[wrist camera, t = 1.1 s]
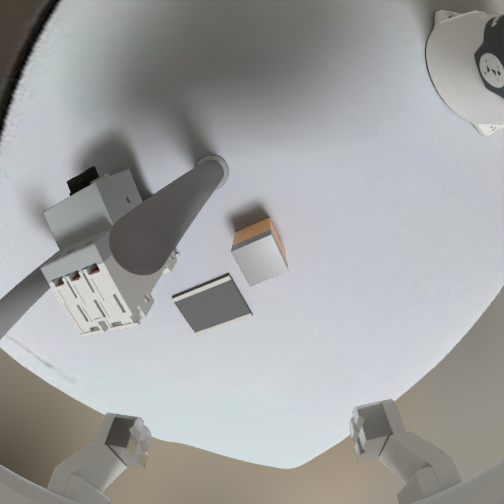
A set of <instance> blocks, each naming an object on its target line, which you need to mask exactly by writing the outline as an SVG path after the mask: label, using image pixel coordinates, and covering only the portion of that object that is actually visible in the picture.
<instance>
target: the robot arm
mask: <svg viewBox="0 0 504 504" xmlns="http://www.w3.org/2000/svg"><path fill="white" fill-rule="evenodd" d="M426 58H427V65H428V69H429V73H430V76H431V79H432V81H433V84H434V86H435V88H436V90H437V91H438V93H439V95H440V96H441V98H442V99H443V101H444V102H445V103H446V104H447V105H448V107H449V108H450V109H451V110H452V111H454V112H455V113H456V114H457V115H459V116H460V117H462V118H464V119H466V120H468V121H469V122H471V123H472V124H473V125H474V126H475V128H476V129H477V130H478V131H479V133H480V134H482V135H483V136H490V135H491V134H493V133H494V132H495V131H496V130H498V129H499V128H500V127H504V14H501V15H498V14H496V13H488V14H487V13H486V12H485V11H471V12H467V13H464V14H461V13H456V12H452V11H446V10H439V11H436V13H435V26H434V29H433V31H432V33H431V34H430V36H429V39H428V42H427V47H426ZM352 413H353V417H352V418H351V420H350V434H351V438H352V440H353V441H354V442H356V445H355V448H354V450H355V454H356V458H357V462H361V461H366V460H370V459H375V458H378V459H379V460H380V461H381V462H383V463H384V464H385V465H386V466H387V467H388V468H389V469H391V470H392V471H393V472H394V473H395V474H396V475H398V476H399V477H400V478H401V479H402V480H403V481H404V482H406V483H407V484H406V485H405V486H404V487H403V488H402V489H401V491H400V492H399V493H398V495H397V497H398V501H399V504H504V458H502V459H501V460H499V461H497V462H496V463H494V464H493V465H491V466H489V467H488V468H486V469H484V470H482V471H481V472H479V473H477V474H475V475H474V476H472V477H470V478H468V479H466V480H464V481H462V480H461V478H460V475H459V473H458V470H457V468H456V465H455V463H454V461H453V458H452V456H451V455H449V454H447V453H446V452H444V451H442V450H441V449H439V448H438V447H436V446H434V445H433V444H431V443H430V442H428V441H426V440H425V439H423V438H422V437H420V436H419V435H417V434H415V433H414V432H412V431H411V430H407V431H406V429H405V426H404V424H403V421H402V419H401V417H400V414H399V412H398V410H397V407H396V405H395V402H394V401H393V400H392V399H387V400H383V401H380V402H374V403H370V404H366V405H361V406H357V407H354V408H353V412H352ZM143 424H144V421H143V419H142V418H141V417H135V416H127V415H120V414H114V413H107V414H106V415H105V416H104V418H103V420H102V423H101V425H100V428H99V430H98V433H97V435H96V437H95V440H94V442H89V443H88V444H87V445H85V446H84V447H83V448H81V449H80V450H79V451H77V452H76V453H74V454H73V455H72V456H70V457H69V458H67V459H66V460H65V461H63V462H62V463H60V464H59V465H58V466H56V467H55V470H54V472H53V475H52V477H51V480H50V482H49V485H48V487H47V489H45V488H43V487H41V486H39V485H36V484H34V483H32V482H30V481H29V480H26V479H25V478H23V477H21V476H19V475H17V474H15V473H13V472H12V471H10V470H8V469H7V468H5V467H3V466H2V465H0V504H110V503H111V501H110V499H109V498H108V497H106V496H105V495H104V494H102V492H103V491H104V490H105V489H106V488H107V487H108V486H109V485H110V484H111V483H112V482H113V481H114V480H115V479H116V478H117V477H118V476H119V475H120V474H121V472H123V471H124V470H125V469H126V468H127V466H129V467H135V468H142V469H144V468H145V466H146V462H147V458H148V455H147V454H146V451H147V450H148V449H149V448H150V446H151V442H152V439H151V432H150V430H149V429H148V427H146V426H144V425H143Z"/></svg>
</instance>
